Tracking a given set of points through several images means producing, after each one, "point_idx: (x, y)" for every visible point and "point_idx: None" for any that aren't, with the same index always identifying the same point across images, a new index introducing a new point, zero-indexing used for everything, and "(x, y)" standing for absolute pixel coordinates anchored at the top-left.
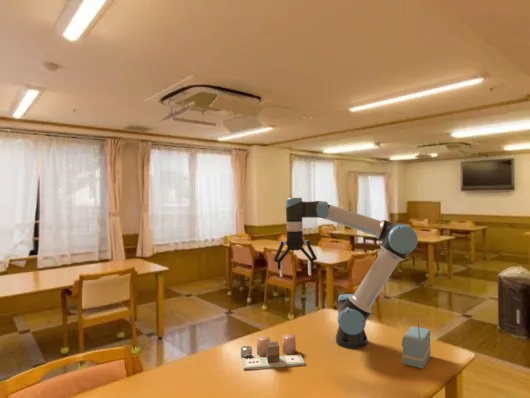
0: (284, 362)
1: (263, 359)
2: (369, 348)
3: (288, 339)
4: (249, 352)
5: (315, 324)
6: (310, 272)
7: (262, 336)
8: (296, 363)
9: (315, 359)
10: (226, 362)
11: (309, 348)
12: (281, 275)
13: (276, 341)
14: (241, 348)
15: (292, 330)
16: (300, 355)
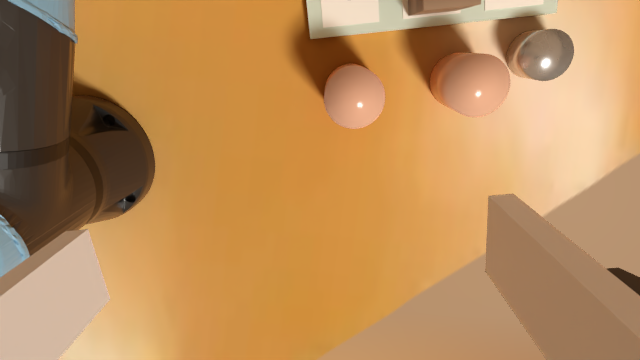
0: None
1: None
2: None
3: (360, 67)
4: (532, 34)
5: (219, 327)
6: (44, 253)
7: (478, 109)
8: None
9: (253, 8)
10: (618, 8)
11: (266, 113)
12: (515, 204)
13: (428, 6)
14: (570, 54)
15: (315, 282)
16: (311, 28)
